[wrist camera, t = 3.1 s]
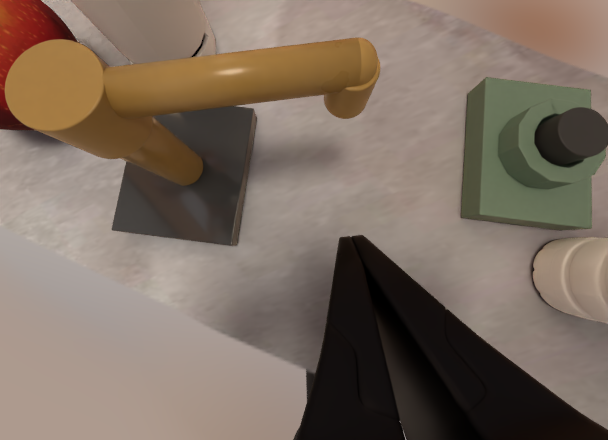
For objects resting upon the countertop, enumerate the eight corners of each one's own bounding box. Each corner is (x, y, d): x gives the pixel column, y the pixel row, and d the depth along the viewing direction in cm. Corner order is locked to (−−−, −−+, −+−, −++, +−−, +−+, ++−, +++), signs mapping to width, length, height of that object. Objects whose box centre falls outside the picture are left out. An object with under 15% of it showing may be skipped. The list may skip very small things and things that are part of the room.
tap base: (236, 245, 20) (188, 247, 11) (125, 231, 20) (-4, 222, 12) (257, 117, 21) (226, 35, 13) (152, 104, 21) (53, 14, 13)
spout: (86, 166, 12) (3, 136, 9) (84, 97, 13) (3, 44, 9) (371, 130, 12) (397, 87, 9) (360, 64, 13) (380, 0, 9)
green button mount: (561, 230, 20) (624, 227, 16) (460, 217, 20) (499, 211, 16) (561, 105, 21) (621, 73, 17) (467, 93, 21) (504, 59, 17)
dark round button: (579, 168, 17) (611, 159, 15) (532, 162, 17) (558, 152, 15) (579, 123, 17) (610, 109, 16) (533, 117, 17) (558, 103, 16)
